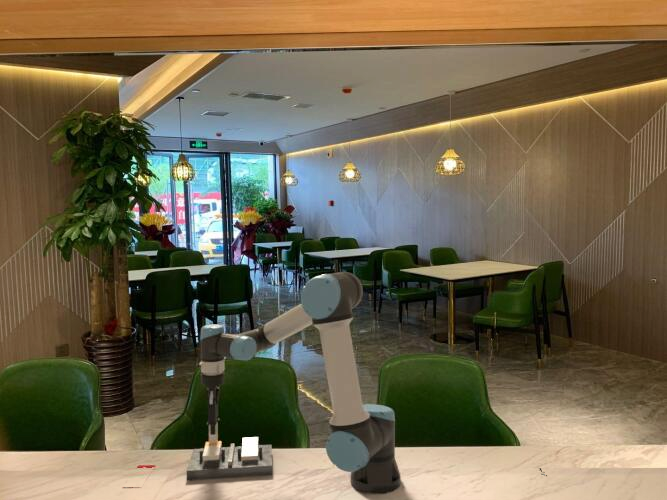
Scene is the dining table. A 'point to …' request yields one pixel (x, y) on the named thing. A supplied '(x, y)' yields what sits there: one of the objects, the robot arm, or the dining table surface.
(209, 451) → the breaker left
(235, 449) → the breaker box
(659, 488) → the dining table surface
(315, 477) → the dining table surface
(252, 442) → the breaker right
